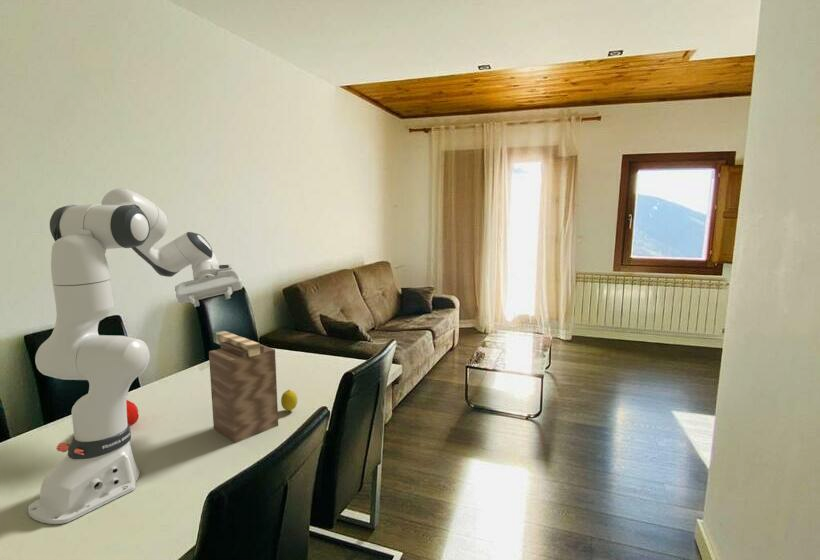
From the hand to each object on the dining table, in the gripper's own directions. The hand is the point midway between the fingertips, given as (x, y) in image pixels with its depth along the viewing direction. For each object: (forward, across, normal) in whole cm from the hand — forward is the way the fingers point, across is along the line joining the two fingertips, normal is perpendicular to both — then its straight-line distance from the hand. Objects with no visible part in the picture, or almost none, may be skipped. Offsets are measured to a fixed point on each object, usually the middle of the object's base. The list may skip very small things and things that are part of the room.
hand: (212, 300), depth 137 cm
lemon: (+21, +14, +40) cm, 48 cm away
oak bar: (+10, +3, +14) cm, 17 cm away
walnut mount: (+25, 0, +35) cm, 43 cm away
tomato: (+8, -38, +35) cm, 53 cm away
